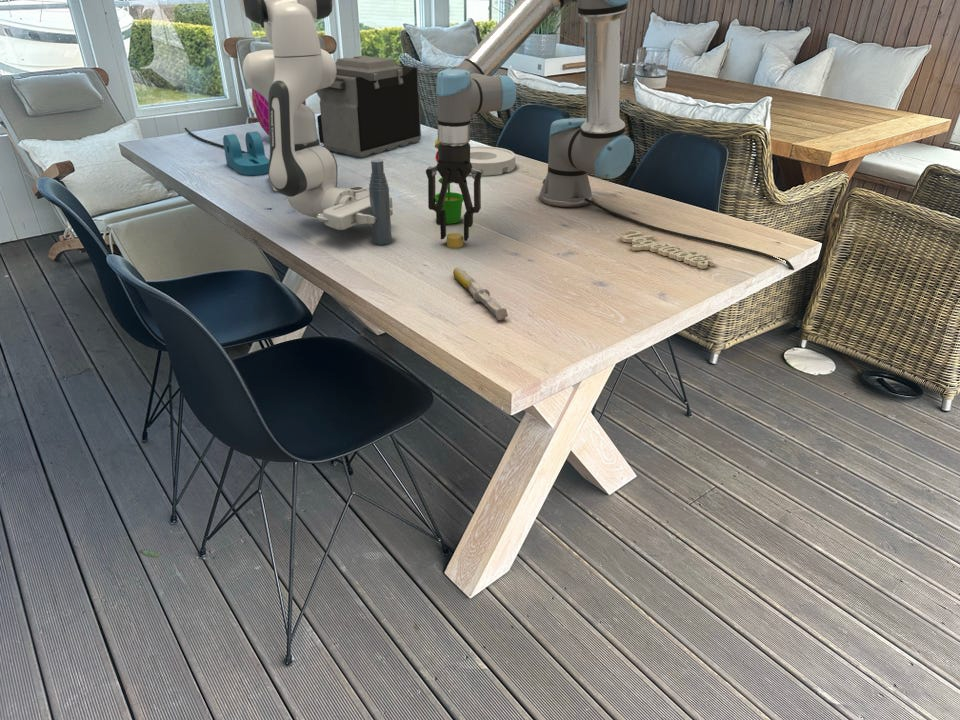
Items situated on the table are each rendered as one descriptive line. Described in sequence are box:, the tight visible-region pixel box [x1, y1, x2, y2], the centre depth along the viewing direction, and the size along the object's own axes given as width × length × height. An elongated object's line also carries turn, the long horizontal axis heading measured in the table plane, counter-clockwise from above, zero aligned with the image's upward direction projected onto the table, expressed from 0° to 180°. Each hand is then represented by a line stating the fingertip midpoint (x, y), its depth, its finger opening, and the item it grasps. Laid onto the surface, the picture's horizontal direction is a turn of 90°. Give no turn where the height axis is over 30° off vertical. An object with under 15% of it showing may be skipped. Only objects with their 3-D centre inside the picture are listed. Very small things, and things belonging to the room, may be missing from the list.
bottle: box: [368, 158, 393, 246], centre depth 167 cm, size 5×5×20 cm
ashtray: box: [468, 145, 516, 177], centre depth 233 cm, size 23×23×4 cm
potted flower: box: [434, 138, 471, 225], centre depth 180 cm, size 9×8×25 cm
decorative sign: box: [621, 229, 715, 270], centre depth 168 cm, size 26×1×10 cm
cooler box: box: [315, 55, 422, 159], centre depth 250 cm, size 37×22×30 cm, turn 144°
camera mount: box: [222, 131, 269, 176], centre depth 226 cm, size 18×10×10 cm, turn 35°
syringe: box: [452, 266, 509, 321], centre depth 145 cm, size 25×4×3 cm, turn 21°
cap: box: [446, 232, 464, 249], centre depth 171 cm, size 4×4×2 cm
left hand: (383, 216), depth 169 cm, fingers closed on bottle, 5 cm apart
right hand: (454, 237), depth 170 cm, fingers open, 5 cm apart
